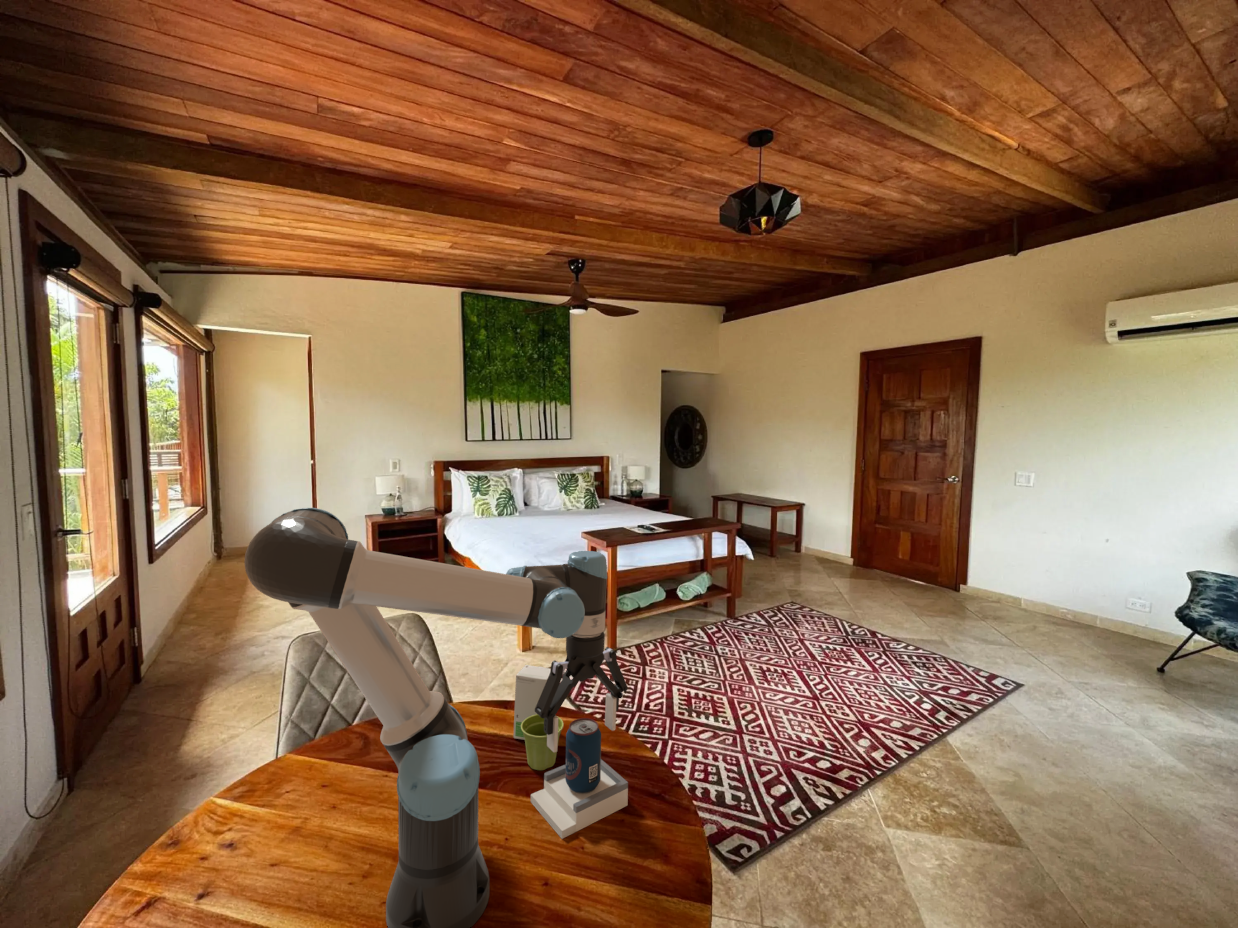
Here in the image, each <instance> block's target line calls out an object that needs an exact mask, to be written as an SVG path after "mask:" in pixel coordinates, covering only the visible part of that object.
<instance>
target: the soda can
mask: <svg viewBox="0 0 1238 928" xmlns="http://www.w3.org/2000/svg"><path fill="white" fill-rule="evenodd" d="M601 759H602V732H601V730H600V727H599V723H598V722H597V721H596V720H594V719H592V718H588V717H587V718H586V717H581V718H577V719H574V720H572V721H571V722H570V723H569V725H568V729H567V732H566V733H565V764H566V776H565V779H566V783H567V785H568V786H569V788H570V789H571V790H572V791H573V792H575V793H578V794H587V793H590V792H592V791H593V790H595V788H596V787H597V785H598V784H599V782H600V779H601Z"/></svg>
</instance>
